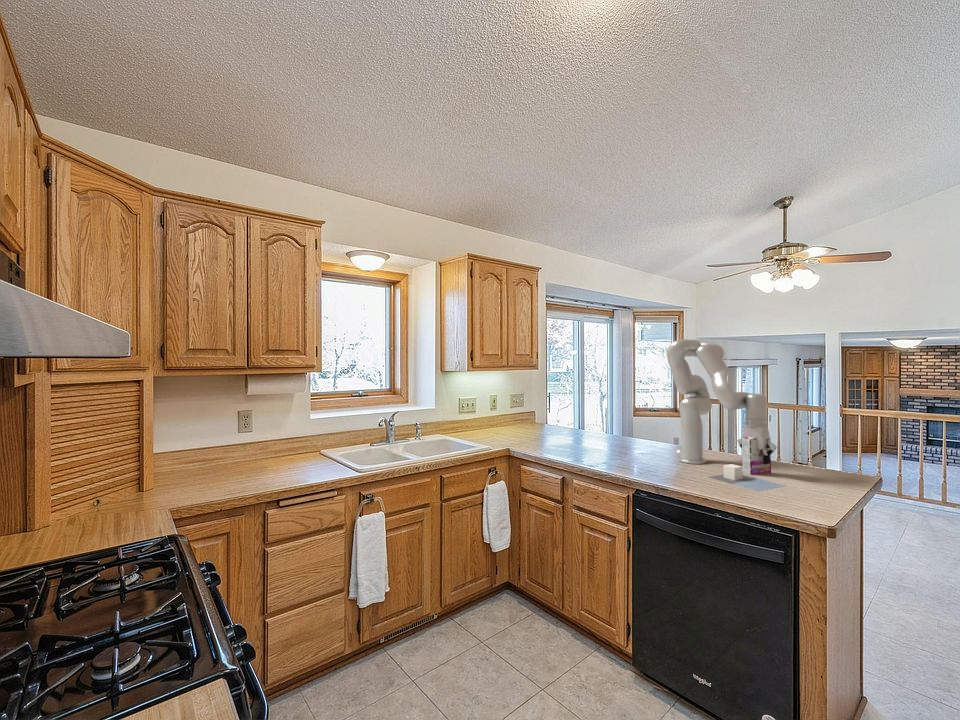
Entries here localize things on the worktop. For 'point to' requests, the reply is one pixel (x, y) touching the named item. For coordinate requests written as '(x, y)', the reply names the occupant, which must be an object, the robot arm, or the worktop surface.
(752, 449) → the candy bar box
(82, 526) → the worktop surface
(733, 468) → the cream block
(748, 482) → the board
